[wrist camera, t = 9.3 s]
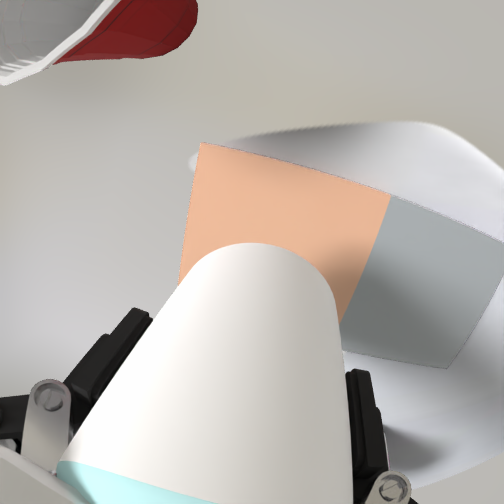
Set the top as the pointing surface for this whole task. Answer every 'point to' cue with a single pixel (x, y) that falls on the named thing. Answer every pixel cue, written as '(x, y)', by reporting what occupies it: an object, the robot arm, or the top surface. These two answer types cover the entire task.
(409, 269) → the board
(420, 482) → the top surface
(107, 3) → the plastic cup
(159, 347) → the can
